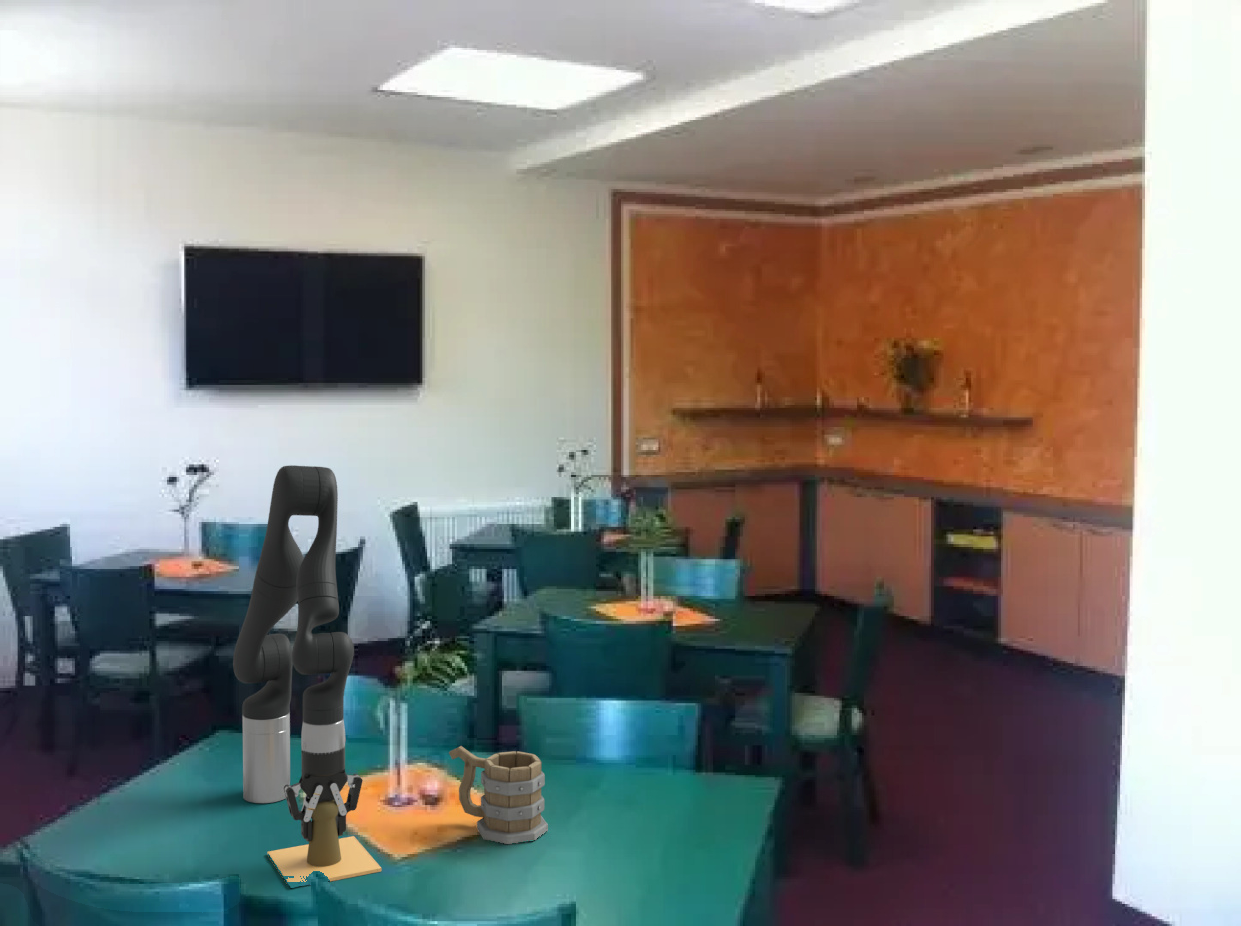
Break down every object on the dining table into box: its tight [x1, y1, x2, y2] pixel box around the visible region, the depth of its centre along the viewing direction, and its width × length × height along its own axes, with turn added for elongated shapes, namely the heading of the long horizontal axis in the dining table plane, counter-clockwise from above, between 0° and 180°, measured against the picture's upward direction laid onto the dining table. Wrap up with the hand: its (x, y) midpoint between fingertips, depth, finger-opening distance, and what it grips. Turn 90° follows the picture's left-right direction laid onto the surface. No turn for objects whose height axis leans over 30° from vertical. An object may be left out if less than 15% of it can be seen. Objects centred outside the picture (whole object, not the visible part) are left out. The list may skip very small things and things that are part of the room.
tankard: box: [448, 745, 549, 845], centre depth 240 cm, size 20×13×15 cm, turn 65°
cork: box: [307, 800, 341, 867], centre depth 222 cm, size 6×6×11 cm
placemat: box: [267, 835, 382, 882], centre depth 223 cm, size 16×16×1 cm
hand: (323, 836), depth 223 cm, fingers open, 5 cm apart
